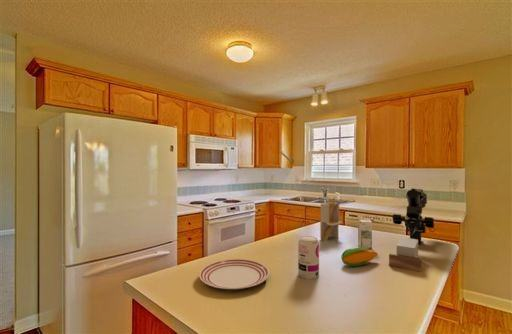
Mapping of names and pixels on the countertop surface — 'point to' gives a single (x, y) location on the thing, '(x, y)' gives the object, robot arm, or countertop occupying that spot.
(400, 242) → the slab
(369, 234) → the syrup box
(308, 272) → the supplement can
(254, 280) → the dinner plate
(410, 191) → the robot arm
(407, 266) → the stop rail
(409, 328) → the countertop surface
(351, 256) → the corn
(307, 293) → the countertop surface
